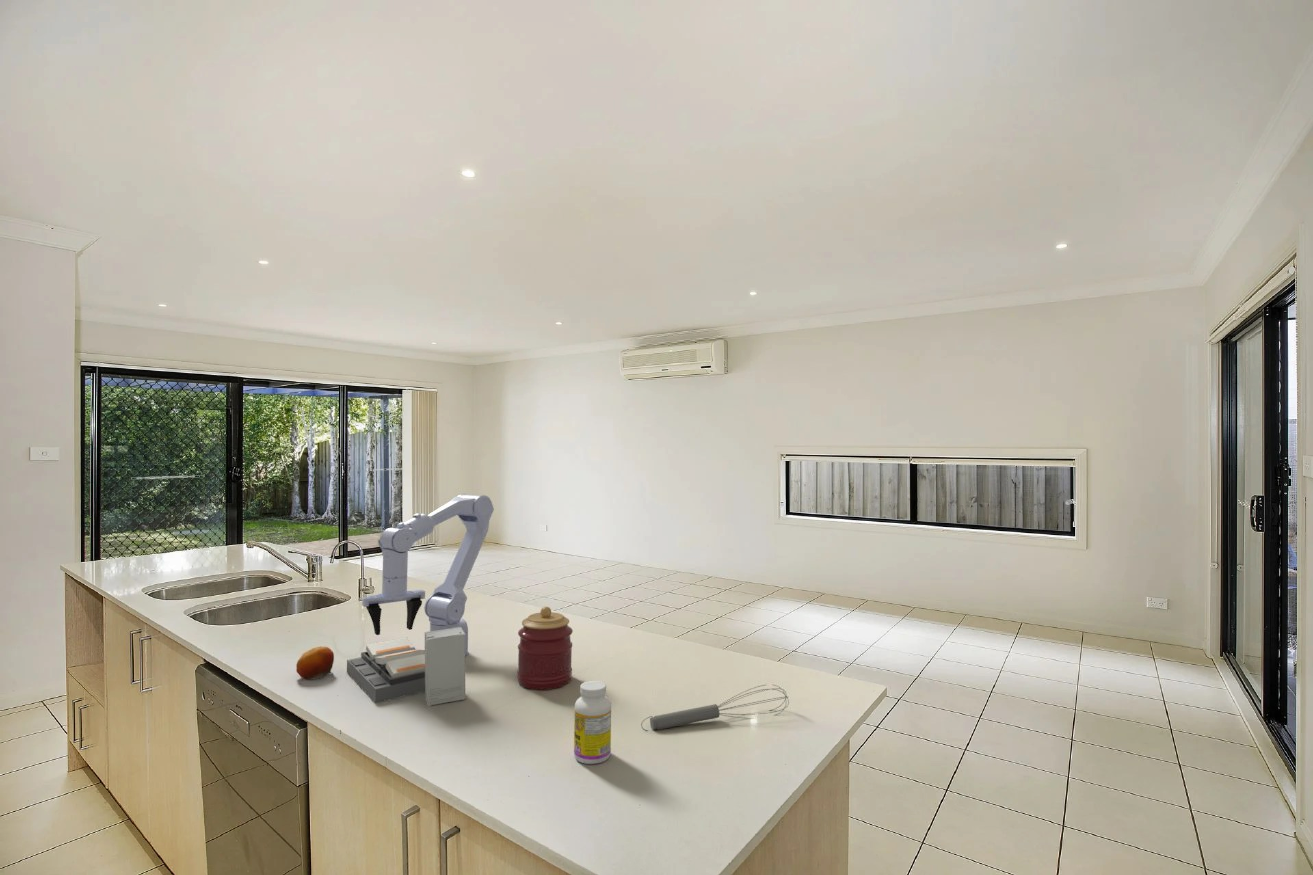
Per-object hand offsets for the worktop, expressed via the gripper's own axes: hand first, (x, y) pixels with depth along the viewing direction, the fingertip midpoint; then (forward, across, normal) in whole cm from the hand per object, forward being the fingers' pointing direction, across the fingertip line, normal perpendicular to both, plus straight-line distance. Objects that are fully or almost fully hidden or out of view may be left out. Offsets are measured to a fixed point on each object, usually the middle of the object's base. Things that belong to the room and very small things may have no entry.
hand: (393, 631), depth 153 cm
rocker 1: (+5, 0, +2) cm, 6 cm away
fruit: (+10, -16, +8) cm, 20 cm away
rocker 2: (+5, 0, -14) cm, 15 cm away
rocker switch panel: (+10, -1, -4) cm, 11 cm away
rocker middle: (+5, 0, -6) cm, 8 cm away
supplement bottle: (+10, +16, -66) cm, 69 cm away
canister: (+10, +27, -28) cm, 40 cm away
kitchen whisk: (+10, +45, -70) cm, 84 cm away
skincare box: (+10, +4, -24) cm, 27 cm away
